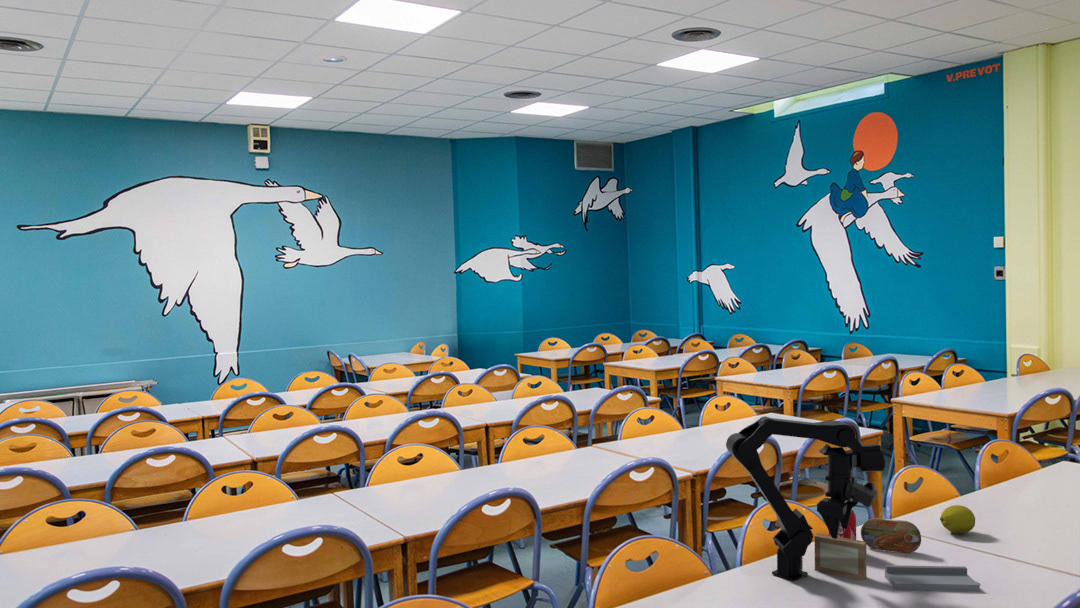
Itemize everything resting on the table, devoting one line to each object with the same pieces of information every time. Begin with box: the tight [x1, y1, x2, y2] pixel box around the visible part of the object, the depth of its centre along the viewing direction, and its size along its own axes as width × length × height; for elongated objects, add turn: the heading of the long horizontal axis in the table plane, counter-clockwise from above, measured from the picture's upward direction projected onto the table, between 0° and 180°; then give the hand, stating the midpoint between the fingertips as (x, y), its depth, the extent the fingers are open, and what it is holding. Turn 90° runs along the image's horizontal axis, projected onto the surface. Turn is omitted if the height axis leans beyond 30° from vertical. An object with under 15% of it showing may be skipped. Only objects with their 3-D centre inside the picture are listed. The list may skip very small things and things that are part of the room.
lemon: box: [939, 504, 976, 535], centre depth 230 cm, size 11×8×8 cm
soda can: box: [827, 507, 857, 540], centre depth 216 cm, size 7×7×12 cm
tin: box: [860, 517, 922, 554], centre depth 217 cm, size 15×3×8 cm, turn 62°
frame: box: [814, 532, 867, 581], centre depth 201 cm, size 2×12×9 cm, turn 55°
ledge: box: [884, 564, 980, 592], centre depth 193 cm, size 8×19×3 cm, turn 85°
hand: (839, 533), depth 200 cm, fingers open, 9 cm apart
